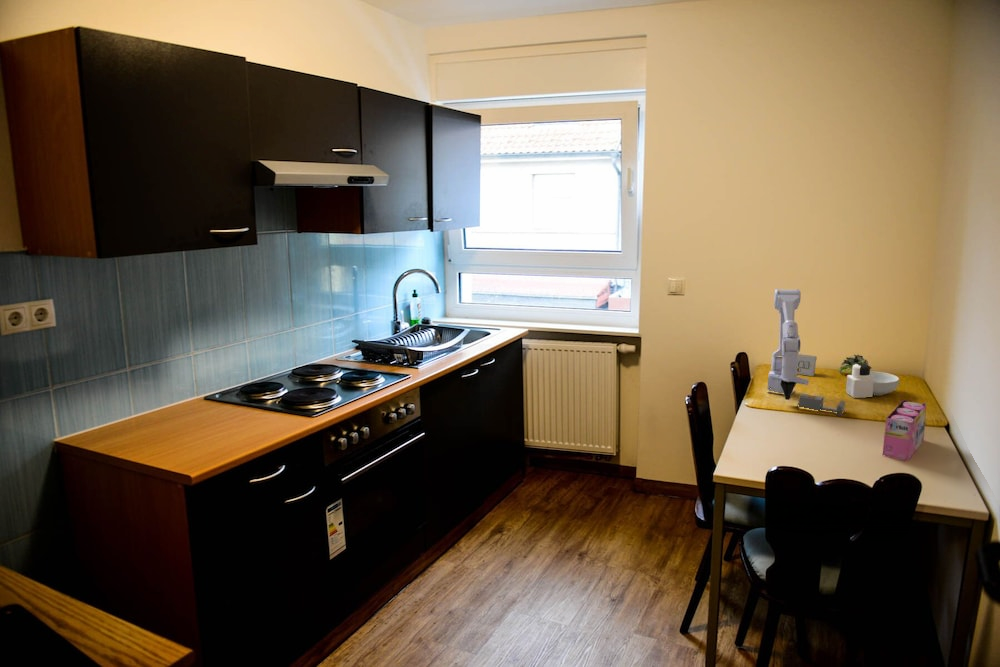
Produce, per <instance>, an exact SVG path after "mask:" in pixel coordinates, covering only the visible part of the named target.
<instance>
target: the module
mask: <svg viewBox="0 0 1000 667" xmlns="http://www.w3.org/2000/svg"><path fill="white" fill-rule="evenodd" d="M798 397H799V398H798V403H799V407H804V408H809V409H814V410H818V411H820V409H821V406H824V398H825V397H824V396H821V395H816V394H810V393H809V394H808V393H801V394H800V395H799V396H798ZM799 407H798V408H799ZM820 412H821V411H820Z"/></svg>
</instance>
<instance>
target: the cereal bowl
mask: <svg viewBox="0 0 1000 667" xmlns="http://www.w3.org/2000/svg"><path fill="white" fill-rule="evenodd" d="M869 377H870V378H871V379H873V380H874V383H873V394H875V395H874V396H884V395H883V394H885V395H886V394H890V393H893V392H894V391H895V390H897V389H898V386H899V383H900V378H899V377H898V376H897V375H895V374H892V373H887V372H882V371H874V370H873V371H871V370H870V376H869Z"/></svg>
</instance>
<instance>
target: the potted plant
mask: <svg viewBox="0 0 1000 667" xmlns="http://www.w3.org/2000/svg"><path fill="white" fill-rule="evenodd" d="M855 364H865V365H868V366H870V364H869V361H868V360H867V359H865V358H864V357H863V355H860V354H853V356H846V357H845V359H843V362H842V363H841V364H840V365H841V367H840V368H839V369H837V370H838V371H837V372H838V373H839V374H841V373H843V372H846V371H848V370H849V373H850V375H852V368H853V365H855ZM870 370H872V366H870Z"/></svg>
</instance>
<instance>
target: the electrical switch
mask: <svg viewBox="0 0 1000 667" xmlns="http://www.w3.org/2000/svg"><path fill="white" fill-rule="evenodd" d="M817 359H818V358H817V356H816V355H810V354H802V353H798V365H797V375H801V376H808V377H814V376H815V371H816V364H817Z"/></svg>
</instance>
